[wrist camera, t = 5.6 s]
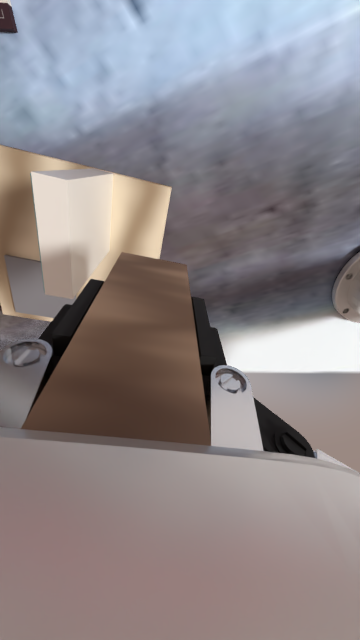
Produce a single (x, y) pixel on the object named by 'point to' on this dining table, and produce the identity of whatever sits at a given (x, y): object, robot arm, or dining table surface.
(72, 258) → the tile
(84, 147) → the dining table surface
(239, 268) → the dining table surface
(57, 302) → the mat
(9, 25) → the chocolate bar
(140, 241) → the board
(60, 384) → the brown wooden block
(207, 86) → the dining table surface
